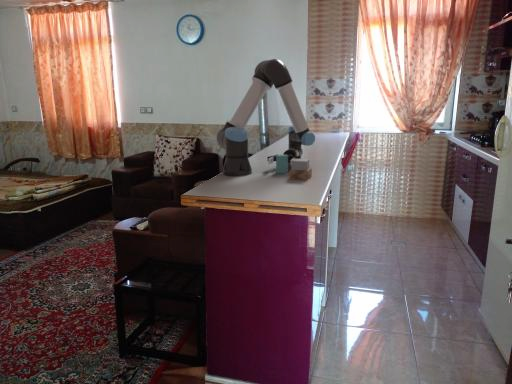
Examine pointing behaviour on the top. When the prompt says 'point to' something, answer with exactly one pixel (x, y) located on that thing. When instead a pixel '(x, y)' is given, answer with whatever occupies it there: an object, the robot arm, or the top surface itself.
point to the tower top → (300, 164)
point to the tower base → (301, 174)
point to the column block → (281, 163)
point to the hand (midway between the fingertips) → (280, 162)
